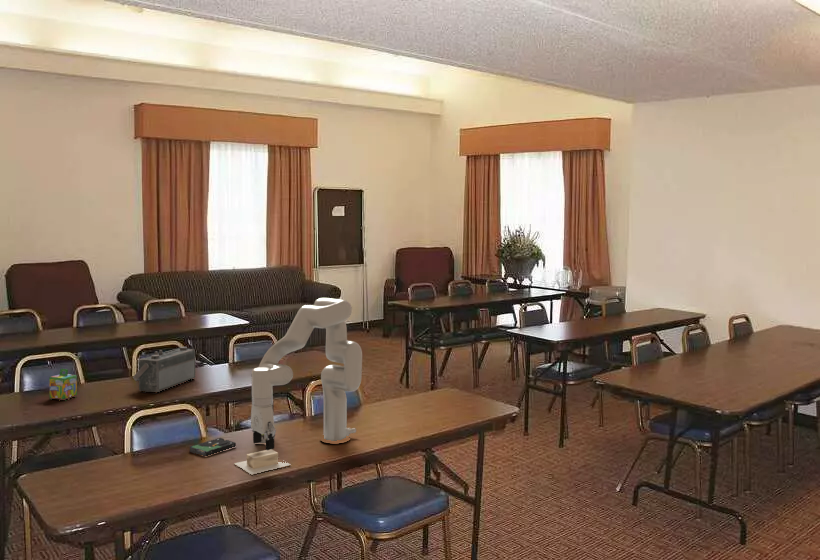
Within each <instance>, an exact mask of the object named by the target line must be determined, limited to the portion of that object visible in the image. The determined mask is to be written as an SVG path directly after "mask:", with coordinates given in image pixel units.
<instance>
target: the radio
mask: <svg viewBox="0 0 820 560" xmlns="http://www.w3.org/2000/svg"><path fill="white" fill-rule="evenodd" d="M193 378H195V379H196V351H195V349H194V348H192V347H188V346H179V347H176V348H175V349H172V350H168V351H165V352H163V350H162V349H159V351H154V354H152V355H150V356H147V357H143V358H140V359H139V360H138V371H137V372H136V373H135V374H134V375H133V376H132V379H133V380H134V381H135V382H138V390H139V392H141V391H145V392H144V393H146V392H159V393H161V392H160V391H162V390H164V391H166V390H165V389H167V390H169V389H168V388H170V387H172V388H174V387H173V386H175V385H177V384H180V383H183V382H185V381H188V380H190V379H193ZM188 382H189V381H188ZM183 384H184V383H183ZM180 385H181V384H180ZM175 387H176V386H175ZM170 389H171V388H170ZM162 392H163V391H162Z"/></svg>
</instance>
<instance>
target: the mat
mask: <svg viewBox="0 0 820 560" xmlns="http://www.w3.org/2000/svg"><path fill="white" fill-rule="evenodd" d="M286 462H287V461H285V463H284V462H283V463H282V462H278V464H273V465H269V466H264V467H260V468H256V469H253V468H251V467H250V466H248V465H247V460H244V461H238V462H234V464H235V465H237V466H238V467H240V468H242V469H243V470H245V471H246V472H248V473H249V474H248V473H247V474H248V475H250V474H251V475H253V474H257V473H261V472H264V471H268V470H273V469H277V468H281V467H285V466H289V465H291V463H289V462H287V463H286ZM234 464H233V465H234ZM235 465H234V466H235ZM237 466H236V467H237ZM291 466H292V465H291ZM238 467H237V468H238ZM240 468H239V469H240ZM242 469H241V470H242ZM243 470H242V471H243ZM245 471H244V472H245ZM273 471H274V470H273ZM246 472H245V473H246ZM261 474H262V473H261ZM251 475H250V476H251ZM257 475H258V474H257ZM253 476H254V475H253Z"/></svg>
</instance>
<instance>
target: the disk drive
mask: <svg viewBox="0 0 820 560" xmlns="http://www.w3.org/2000/svg"><path fill="white" fill-rule="evenodd" d="M235 446H236V447H237V443H236V442H235V441H231V440H229V439H226V440H225V439H224V438H223V437H217V438H215V439H211V440H208V441H204V442H201V443H197V444H194V445H190V446H189V452H190V453H192V454H195V453H196V454H195V455H197V454H200V455H203V456H208V455H211V454H214V453H217V452H220V451H223V450H226V449H229V448H232V447H235ZM200 455H199V456H200ZM214 455H215V454H214ZM203 456H202V457H203ZM211 456H212V455H211ZM208 457H209V456H208Z"/></svg>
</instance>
